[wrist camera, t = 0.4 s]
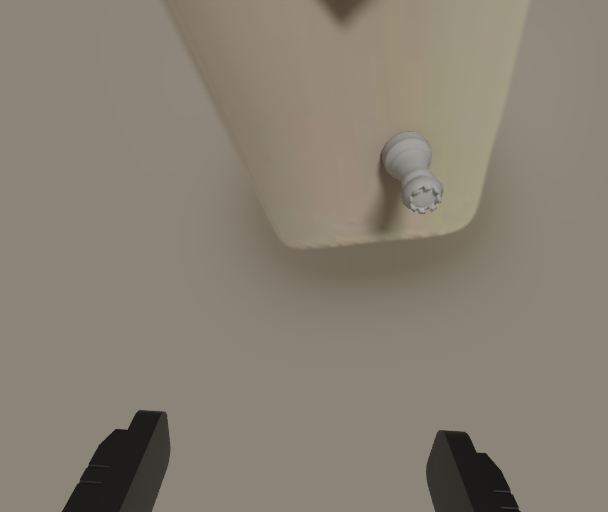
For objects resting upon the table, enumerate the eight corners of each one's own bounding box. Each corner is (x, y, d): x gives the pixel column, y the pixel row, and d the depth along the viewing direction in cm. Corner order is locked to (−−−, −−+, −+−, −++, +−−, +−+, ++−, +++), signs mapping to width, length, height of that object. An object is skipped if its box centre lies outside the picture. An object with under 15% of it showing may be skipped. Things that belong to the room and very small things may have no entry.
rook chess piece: (389, 125, 34) (408, 172, 28) (436, 133, 35) (464, 181, 29) (374, 168, 37) (388, 219, 31) (418, 176, 38) (440, 226, 32)
